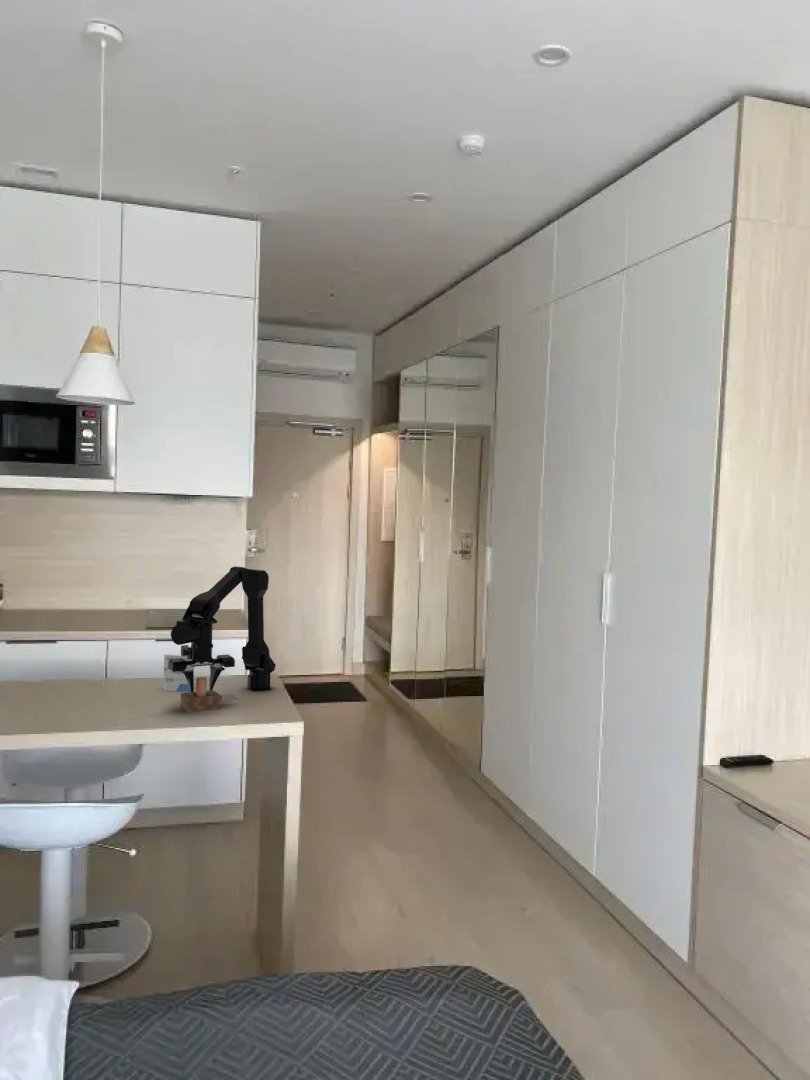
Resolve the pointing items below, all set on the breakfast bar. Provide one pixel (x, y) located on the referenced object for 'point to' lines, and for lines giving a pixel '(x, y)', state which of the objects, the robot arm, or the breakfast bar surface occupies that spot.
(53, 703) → the breakfast bar surface
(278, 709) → the breakfast bar surface
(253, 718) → the breakfast bar surface
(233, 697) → the mat
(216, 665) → the robot arm
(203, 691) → the peg
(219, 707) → the hole block
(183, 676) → the ink box
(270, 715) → the breakfast bar surface
